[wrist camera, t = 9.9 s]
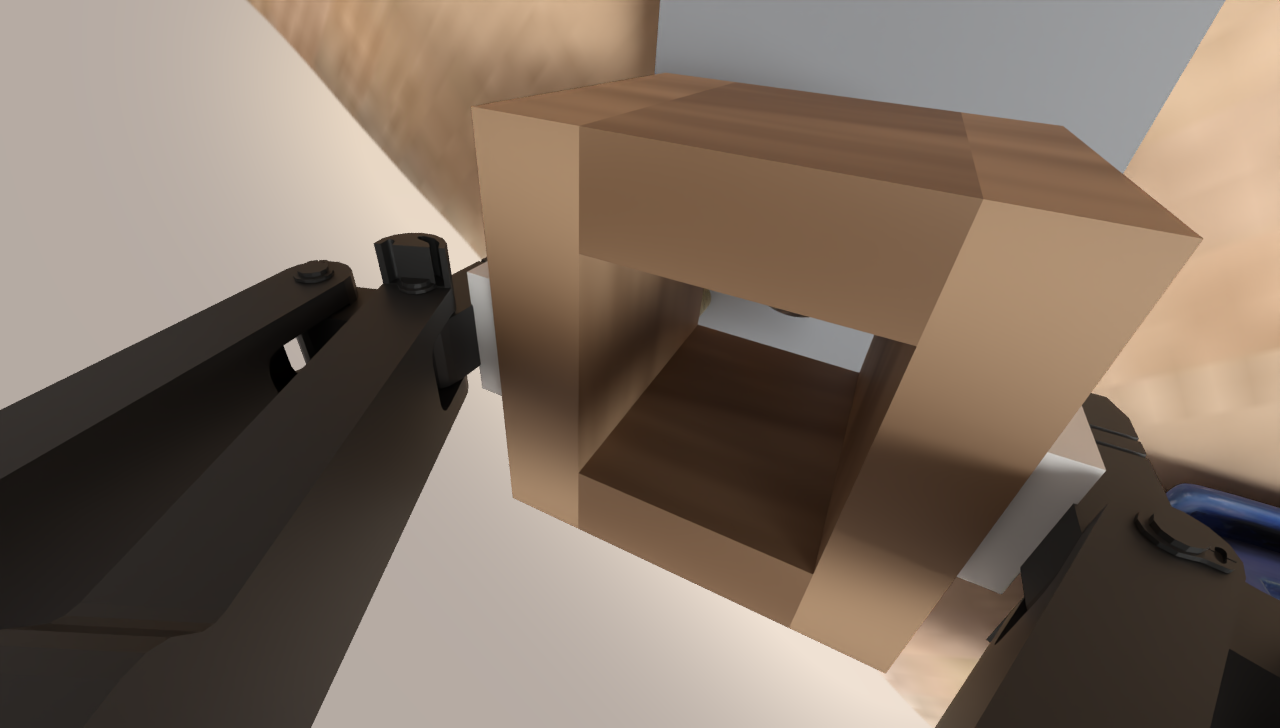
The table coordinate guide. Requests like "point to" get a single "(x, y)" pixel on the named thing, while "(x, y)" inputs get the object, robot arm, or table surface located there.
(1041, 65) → the post base
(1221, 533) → the flower pot
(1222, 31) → the table surface
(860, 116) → the block
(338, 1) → the table surface
